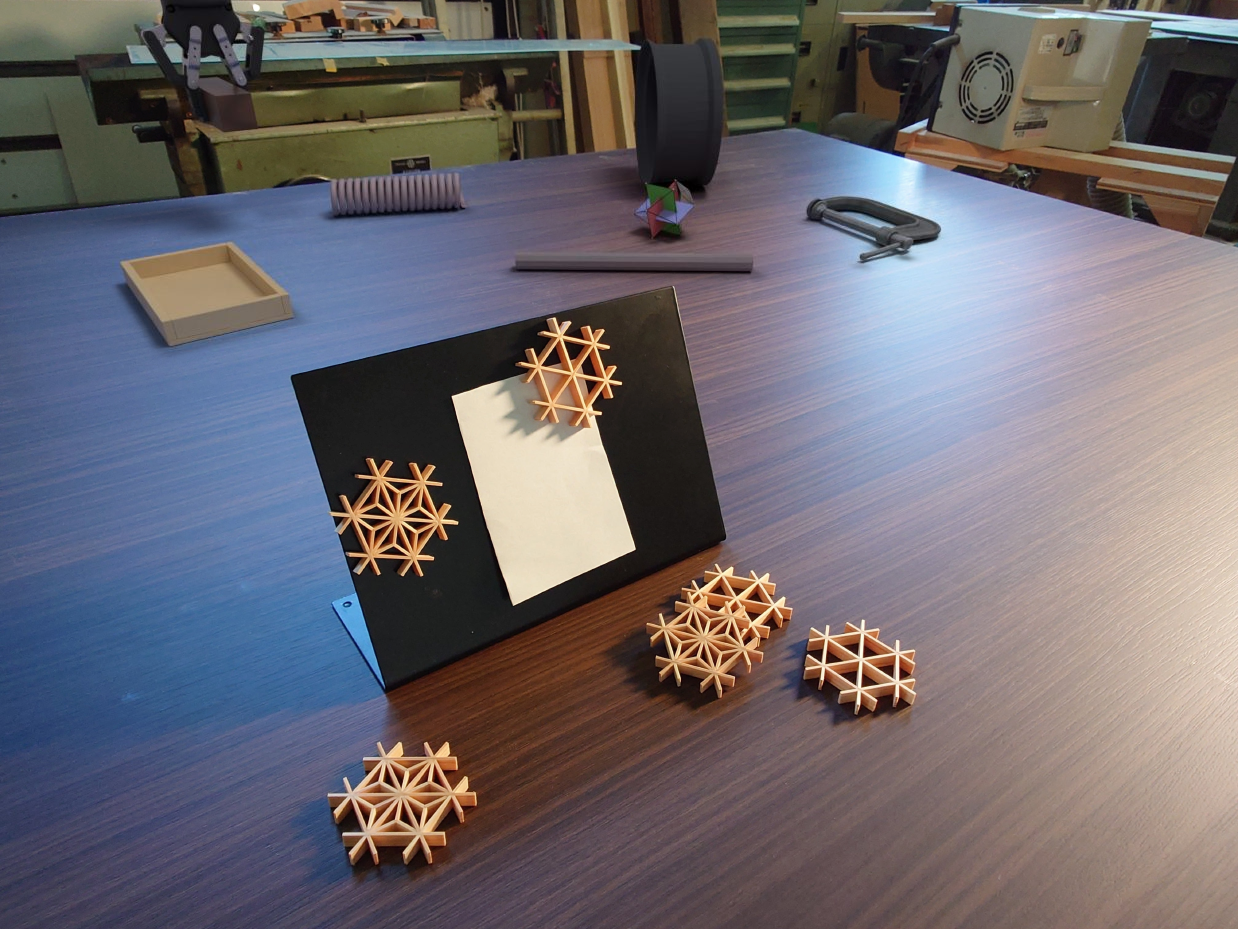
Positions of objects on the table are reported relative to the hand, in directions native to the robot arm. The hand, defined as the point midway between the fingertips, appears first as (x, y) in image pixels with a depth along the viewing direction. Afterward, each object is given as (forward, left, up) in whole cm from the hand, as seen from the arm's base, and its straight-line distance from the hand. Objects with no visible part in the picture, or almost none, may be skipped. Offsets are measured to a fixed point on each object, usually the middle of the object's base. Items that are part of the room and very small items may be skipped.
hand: (223, 118), depth 101 cm
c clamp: (+64, -51, -13) cm, 83 cm away
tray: (-12, -26, -13) cm, 31 cm away
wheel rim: (+58, -19, -13) cm, 63 cm away
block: (0, 0, 0) cm, 0 cm away
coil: (+18, -8, -13) cm, 24 cm away
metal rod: (+30, -45, -13) cm, 56 cm away
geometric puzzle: (+41, -37, -13) cm, 57 cm away
